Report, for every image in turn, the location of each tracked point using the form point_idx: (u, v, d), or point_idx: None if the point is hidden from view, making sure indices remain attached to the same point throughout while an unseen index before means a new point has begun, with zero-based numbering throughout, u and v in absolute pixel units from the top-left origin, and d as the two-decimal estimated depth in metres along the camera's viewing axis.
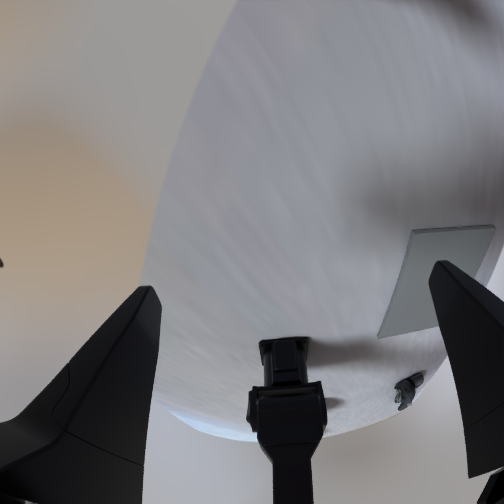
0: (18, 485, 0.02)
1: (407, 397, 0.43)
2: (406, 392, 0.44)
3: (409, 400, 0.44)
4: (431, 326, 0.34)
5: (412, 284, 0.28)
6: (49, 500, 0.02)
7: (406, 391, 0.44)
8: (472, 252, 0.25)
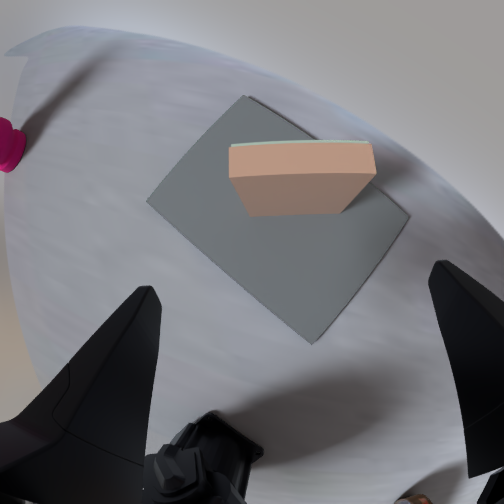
0: (18, 485, 0.02)
1: None
2: None
3: None
4: (381, 250, 0.20)
5: (222, 236, 0.22)
6: (49, 500, 0.02)
7: None
8: (252, 134, 0.22)
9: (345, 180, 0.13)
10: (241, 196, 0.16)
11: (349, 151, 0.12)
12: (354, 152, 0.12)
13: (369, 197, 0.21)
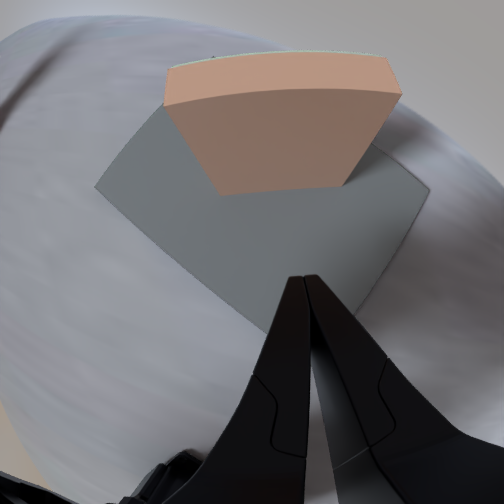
0: None
1: None
2: None
3: None
4: (399, 233, 0.15)
5: (184, 224, 0.16)
6: None
7: None
8: None
9: (353, 109, 0.08)
10: (196, 152, 0.10)
11: (356, 63, 0.07)
12: (363, 65, 0.07)
13: (378, 165, 0.15)
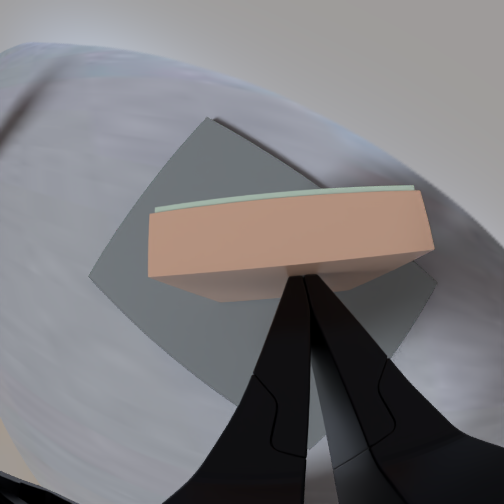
0: None
1: None
2: None
3: None
4: (402, 332, 0.14)
5: (186, 329, 0.15)
6: None
7: None
8: (219, 176, 0.16)
9: (373, 264, 0.07)
10: (192, 291, 0.09)
11: (384, 208, 0.06)
12: (393, 210, 0.06)
13: None
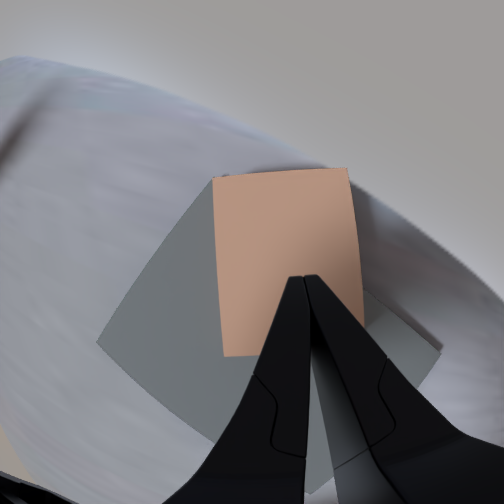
0: None
1: None
2: None
3: None
4: None
5: (198, 400, 0.15)
6: None
7: None
8: None
9: (324, 188, 0.13)
10: (217, 239, 0.14)
11: None
12: None
13: (396, 339, 0.14)
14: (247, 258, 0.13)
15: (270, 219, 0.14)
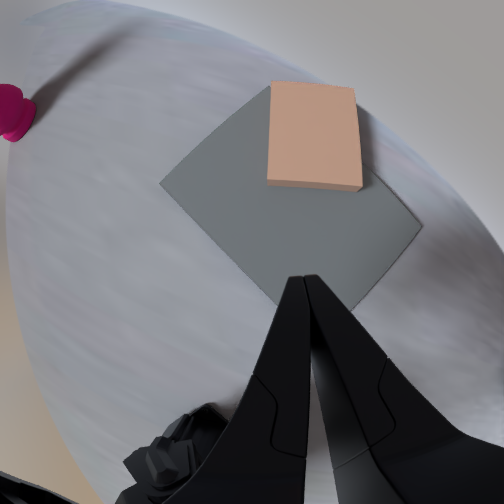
0: None
1: None
2: None
3: None
4: (393, 256, 0.20)
5: (236, 227, 0.21)
6: None
7: None
8: None
9: (339, 96, 0.19)
10: (271, 111, 0.20)
11: None
12: None
13: (385, 203, 0.20)
14: (289, 123, 0.20)
15: (305, 105, 0.20)
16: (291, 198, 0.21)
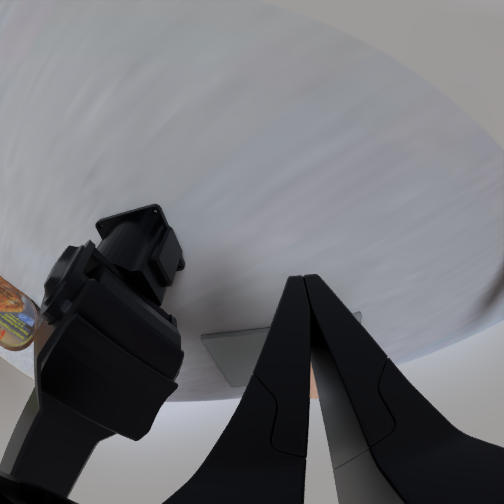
0: None
1: None
2: None
3: None
4: (226, 375, 0.36)
5: None
6: None
7: None
8: None
9: (317, 394, 0.36)
10: None
11: None
12: None
13: None
14: None
15: None
16: None
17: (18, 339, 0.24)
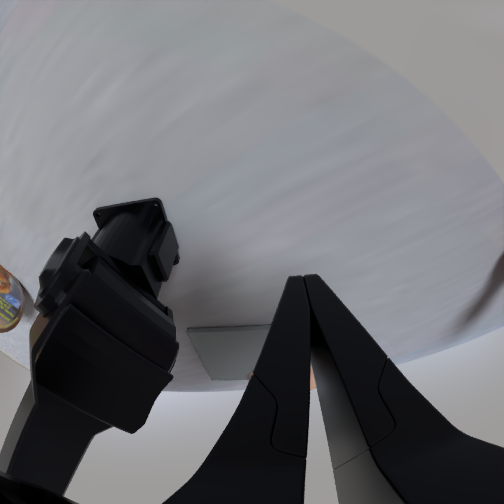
0: None
1: None
2: None
3: None
4: (207, 369, 0.36)
5: None
6: None
7: None
8: None
9: None
10: None
11: None
12: None
13: (234, 376, 0.38)
14: None
15: None
16: None
17: (3, 321, 0.23)
